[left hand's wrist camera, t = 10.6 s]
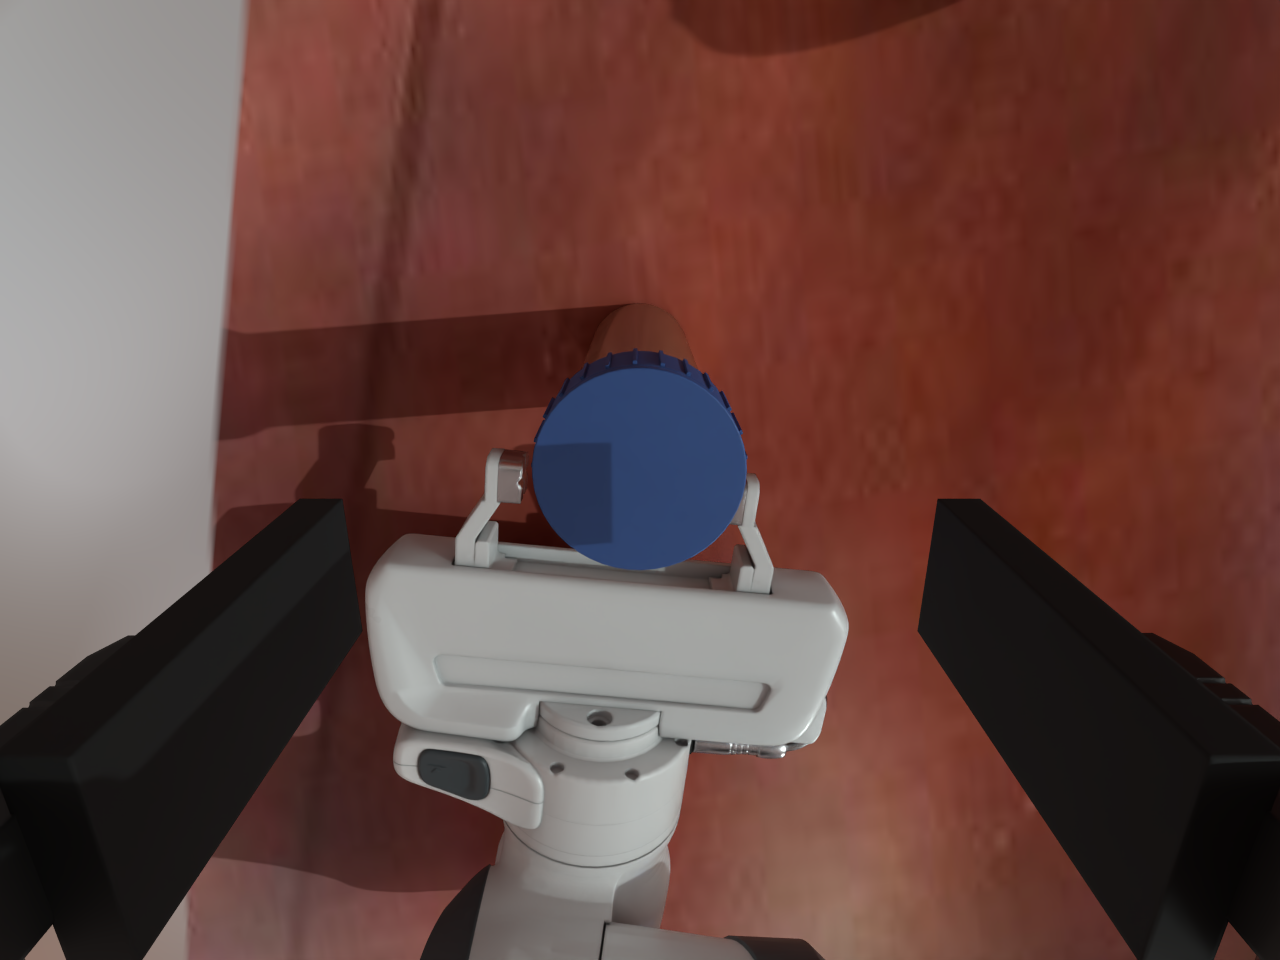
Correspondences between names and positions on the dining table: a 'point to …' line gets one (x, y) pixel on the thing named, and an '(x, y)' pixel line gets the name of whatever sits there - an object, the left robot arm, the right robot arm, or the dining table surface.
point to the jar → (639, 334)
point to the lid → (639, 461)
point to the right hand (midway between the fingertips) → (624, 464)
